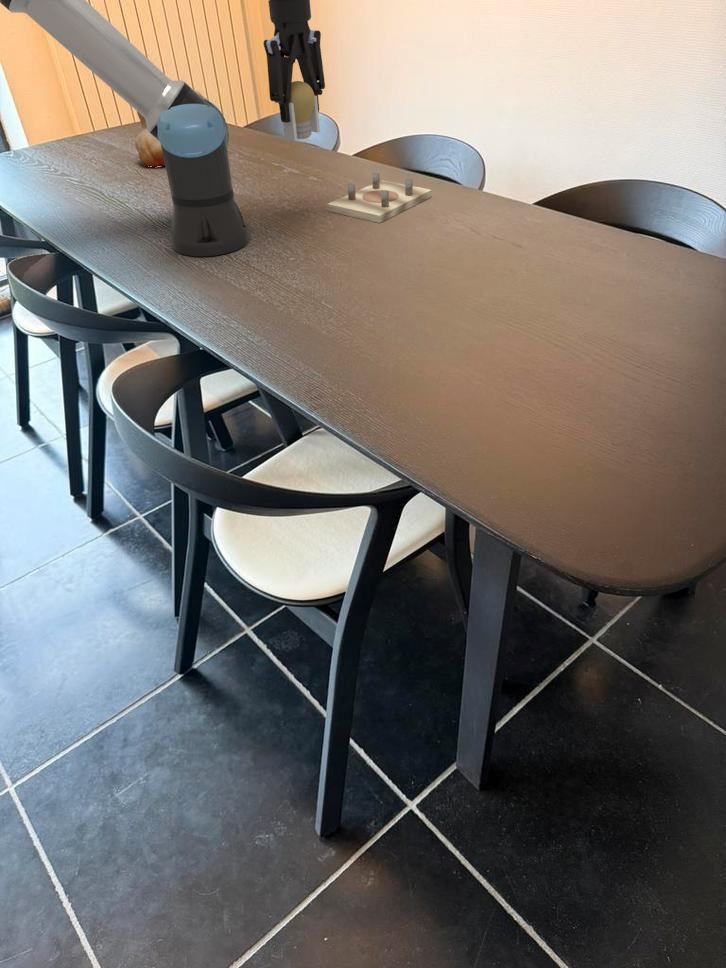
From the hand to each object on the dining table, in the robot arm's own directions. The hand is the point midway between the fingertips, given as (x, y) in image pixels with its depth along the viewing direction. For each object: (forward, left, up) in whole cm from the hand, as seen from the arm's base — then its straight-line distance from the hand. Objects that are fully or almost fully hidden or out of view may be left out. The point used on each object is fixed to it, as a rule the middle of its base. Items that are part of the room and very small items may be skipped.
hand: (302, 135), depth 136 cm
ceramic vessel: (+16, +60, -16) cm, 64 cm away
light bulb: (0, 0, -1) cm, 1 cm away
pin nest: (+13, -10, -15) cm, 22 cm away
